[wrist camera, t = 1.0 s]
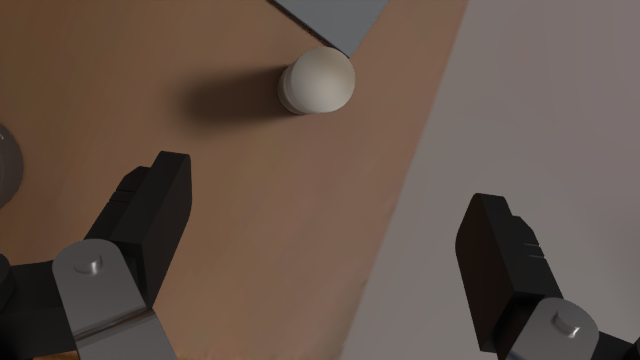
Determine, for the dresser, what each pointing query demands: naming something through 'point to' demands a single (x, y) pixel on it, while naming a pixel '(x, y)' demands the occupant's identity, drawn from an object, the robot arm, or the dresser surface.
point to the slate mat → (336, 19)
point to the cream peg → (317, 82)
